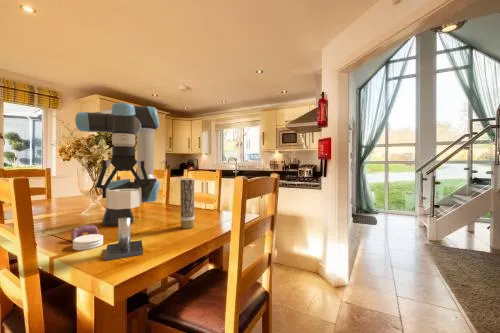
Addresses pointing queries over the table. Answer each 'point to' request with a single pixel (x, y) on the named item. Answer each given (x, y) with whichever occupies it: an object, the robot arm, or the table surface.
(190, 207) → the paper tube
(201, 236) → the table surface
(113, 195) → the ring
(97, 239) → the coaster
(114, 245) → the post stand
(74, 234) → the purple curved piece
